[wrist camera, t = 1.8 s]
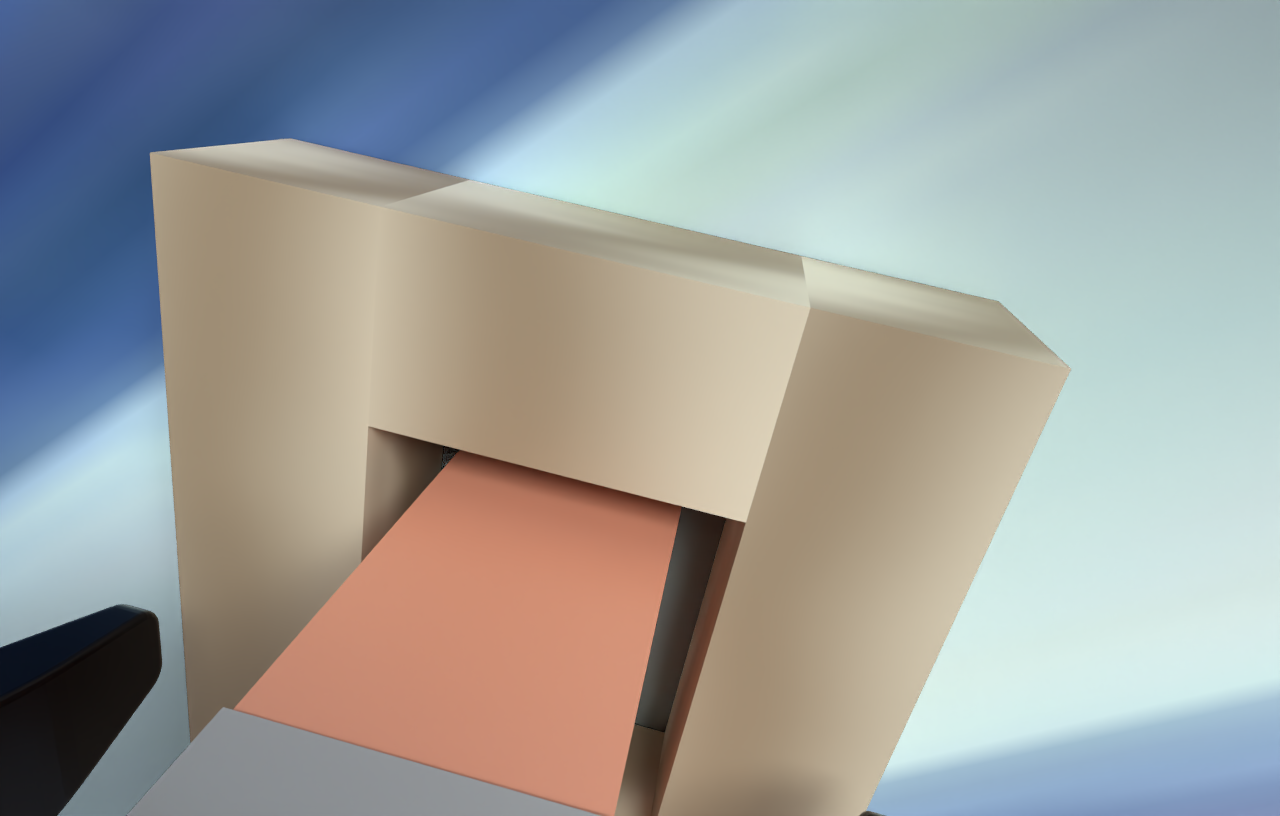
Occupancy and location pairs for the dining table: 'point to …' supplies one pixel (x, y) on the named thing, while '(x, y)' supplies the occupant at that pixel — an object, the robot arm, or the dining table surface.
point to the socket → (587, 437)
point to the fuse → (454, 664)
